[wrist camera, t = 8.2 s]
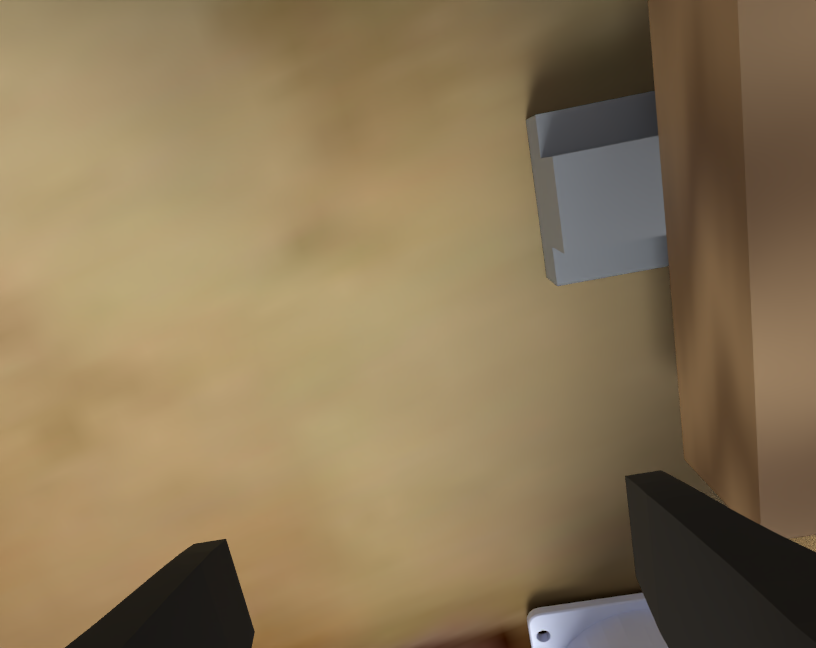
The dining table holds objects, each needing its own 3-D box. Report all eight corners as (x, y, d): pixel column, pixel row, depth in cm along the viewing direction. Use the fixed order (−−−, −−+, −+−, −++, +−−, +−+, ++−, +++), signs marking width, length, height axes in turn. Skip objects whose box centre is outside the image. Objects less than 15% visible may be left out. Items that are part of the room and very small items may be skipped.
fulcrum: (829, 226, 18) (906, 235, 15) (546, 277, 19) (569, 295, 16) (827, 58, 17) (911, 34, 14) (525, 120, 18) (546, 108, 15)
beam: (804, 440, 17) (919, 519, 13) (684, 459, 17) (761, 542, 13) (790, -198, 13) (949, -358, 9) (635, -161, 13) (724, -302, 9)
